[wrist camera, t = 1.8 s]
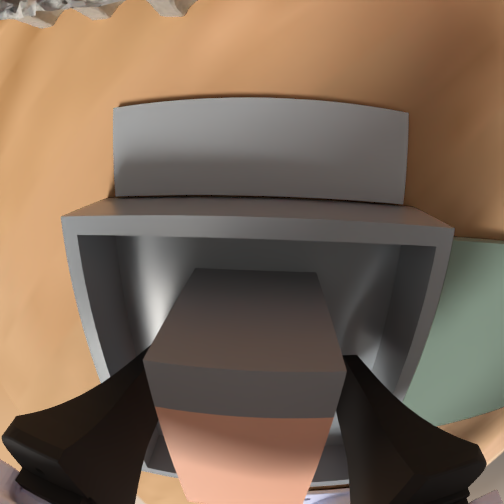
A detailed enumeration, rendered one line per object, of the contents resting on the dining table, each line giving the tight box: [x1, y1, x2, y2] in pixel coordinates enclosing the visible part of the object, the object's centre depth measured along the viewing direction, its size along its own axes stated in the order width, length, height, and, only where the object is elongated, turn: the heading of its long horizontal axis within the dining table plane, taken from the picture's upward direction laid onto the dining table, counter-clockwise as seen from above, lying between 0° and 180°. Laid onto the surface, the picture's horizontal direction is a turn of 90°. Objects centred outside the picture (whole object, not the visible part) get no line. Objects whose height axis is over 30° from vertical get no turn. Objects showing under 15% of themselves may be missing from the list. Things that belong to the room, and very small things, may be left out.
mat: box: [402, 237, 504, 426], centre depth 12 cm, size 12×12×1 cm
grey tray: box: [61, 97, 455, 487], centre depth 12 cm, size 21×12×3 cm, turn 179°
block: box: [143, 268, 347, 504], centre depth 10 cm, size 8×4×6 cm, turn 179°
